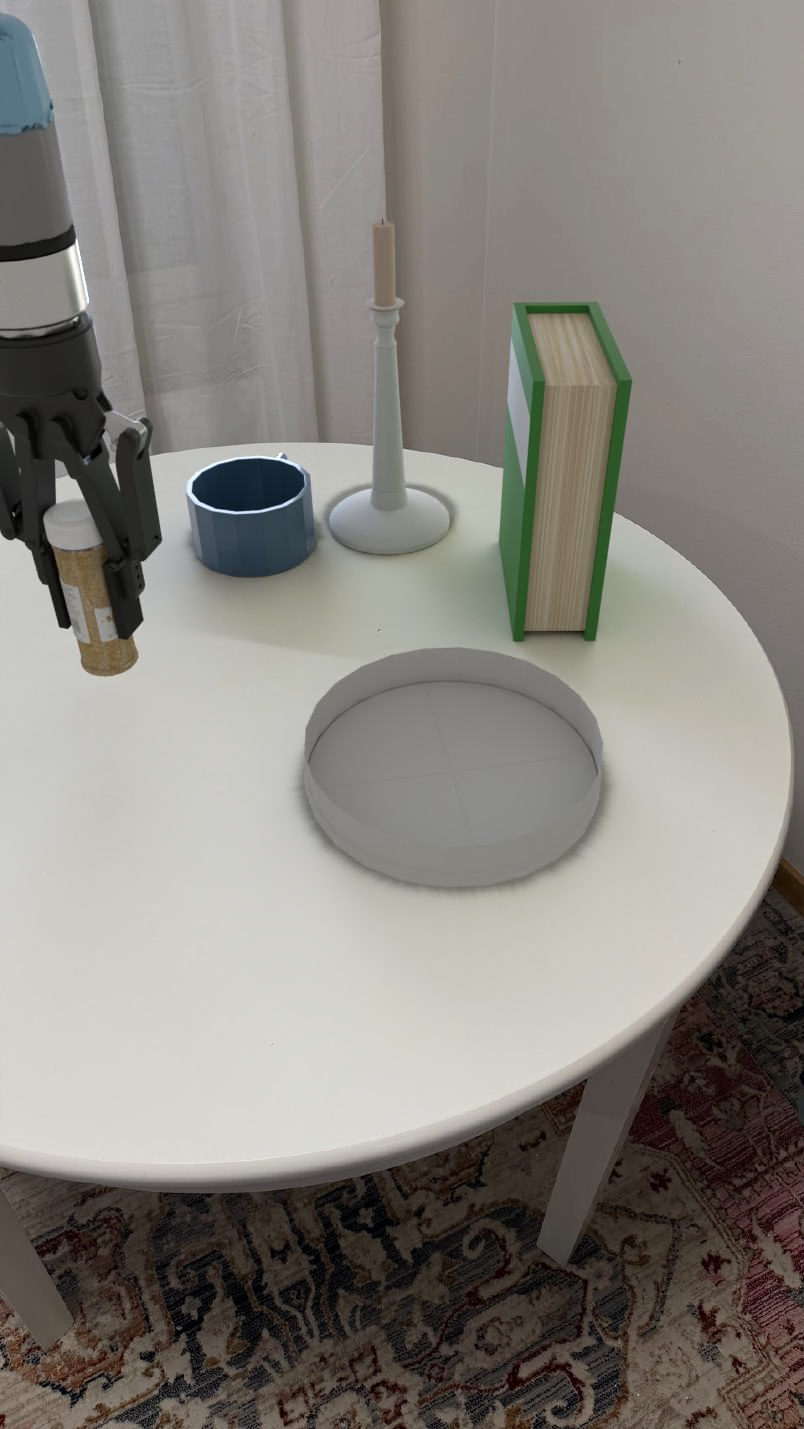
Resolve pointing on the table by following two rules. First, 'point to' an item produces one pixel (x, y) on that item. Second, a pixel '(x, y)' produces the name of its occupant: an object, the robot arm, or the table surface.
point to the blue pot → (251, 515)
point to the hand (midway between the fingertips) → (101, 623)
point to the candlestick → (387, 440)
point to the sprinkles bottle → (87, 588)
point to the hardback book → (560, 464)
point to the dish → (453, 766)
